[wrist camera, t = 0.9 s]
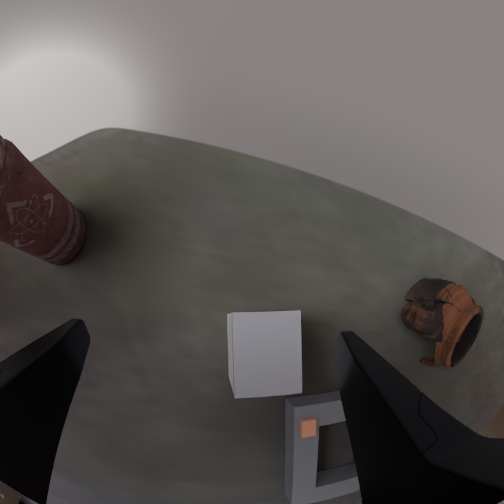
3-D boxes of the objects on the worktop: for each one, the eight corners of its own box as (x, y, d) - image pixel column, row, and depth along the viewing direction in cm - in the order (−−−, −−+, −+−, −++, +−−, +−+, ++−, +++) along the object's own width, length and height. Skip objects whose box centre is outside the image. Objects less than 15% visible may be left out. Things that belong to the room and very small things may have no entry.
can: (89, 200, 24) (19, 116, 11) (88, 262, 23) (-6, 207, 9) (43, 210, 23) (-34, 144, 10) (40, 268, 22) (-56, 226, 8)
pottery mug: (445, 274, 29) (495, 297, 21) (419, 341, 30) (462, 371, 23) (391, 263, 24) (458, 293, 17) (359, 349, 26) (411, 393, 19)
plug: (278, 374, 23) (302, 392, 16) (228, 376, 22) (234, 398, 16) (276, 313, 24) (300, 310, 18) (227, 314, 24) (232, 312, 17)
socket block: (372, 470, 21) (388, 482, 18) (284, 492, 20) (293, 510, 16) (381, 381, 24) (401, 387, 20) (285, 398, 23) (296, 409, 19)
